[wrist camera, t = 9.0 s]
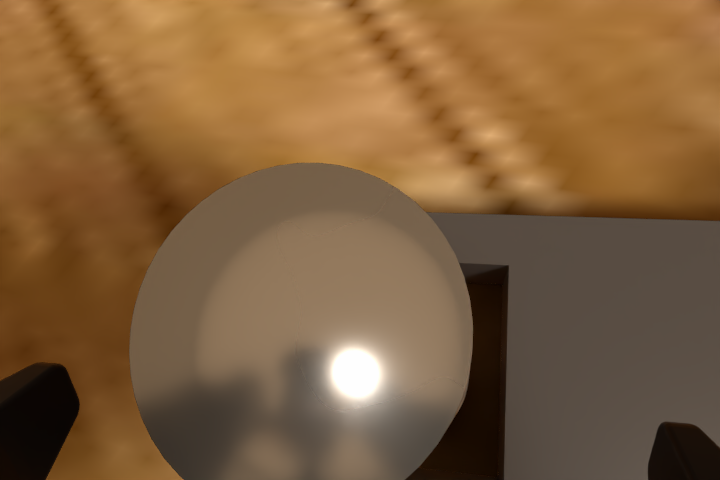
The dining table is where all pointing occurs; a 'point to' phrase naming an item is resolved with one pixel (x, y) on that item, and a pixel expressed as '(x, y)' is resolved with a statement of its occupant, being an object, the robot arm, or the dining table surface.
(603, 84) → the dining table surface
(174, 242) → the cylinder
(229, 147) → the dining table surface
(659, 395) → the twin nest fixture
